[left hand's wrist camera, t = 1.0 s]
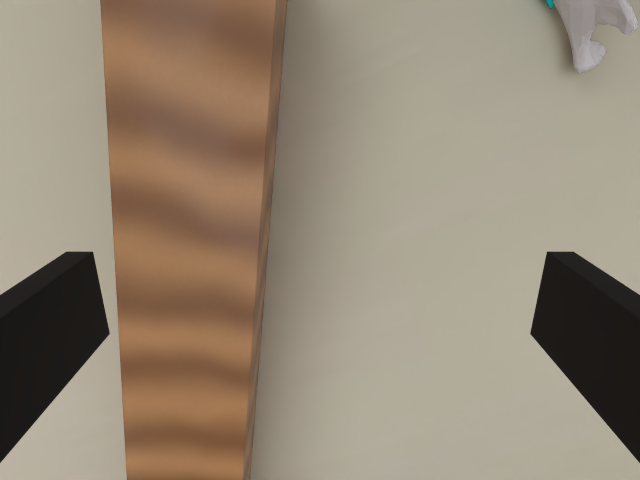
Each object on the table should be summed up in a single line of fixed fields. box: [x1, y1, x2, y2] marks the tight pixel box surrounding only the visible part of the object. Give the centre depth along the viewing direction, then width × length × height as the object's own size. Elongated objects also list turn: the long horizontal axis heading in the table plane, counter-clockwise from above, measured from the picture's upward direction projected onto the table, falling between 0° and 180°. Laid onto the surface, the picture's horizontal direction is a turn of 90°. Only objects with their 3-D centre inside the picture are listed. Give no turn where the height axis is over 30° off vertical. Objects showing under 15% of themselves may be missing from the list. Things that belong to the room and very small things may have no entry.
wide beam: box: [101, 0, 287, 480], centre depth 35 cm, size 67×9×6 cm, turn 173°
